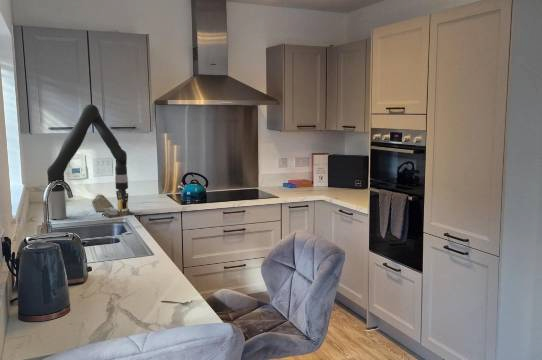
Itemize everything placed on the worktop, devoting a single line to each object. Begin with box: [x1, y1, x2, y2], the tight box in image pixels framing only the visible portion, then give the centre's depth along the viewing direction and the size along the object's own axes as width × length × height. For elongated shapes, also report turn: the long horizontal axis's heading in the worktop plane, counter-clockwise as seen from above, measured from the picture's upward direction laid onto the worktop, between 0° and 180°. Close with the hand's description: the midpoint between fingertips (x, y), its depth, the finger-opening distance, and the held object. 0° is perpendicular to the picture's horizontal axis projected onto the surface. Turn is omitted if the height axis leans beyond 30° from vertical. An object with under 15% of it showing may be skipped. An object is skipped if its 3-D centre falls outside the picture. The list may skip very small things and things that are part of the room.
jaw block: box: [117, 199, 129, 211], centre depth 318 cm, size 5×5×6 cm
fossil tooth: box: [91, 193, 115, 212], centre depth 327 cm, size 12×6×15 cm
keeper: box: [104, 207, 118, 215], centre depth 314 cm, size 4×10×3 cm, turn 39°
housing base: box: [101, 208, 134, 219], centre depth 317 cm, size 16×10×3 cm, turn 129°
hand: (122, 207), depth 318 cm, fingers closed on jaw block, 4 cm apart
